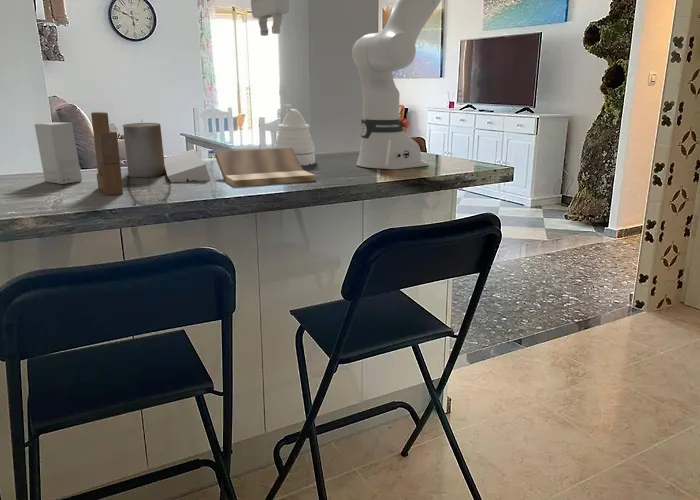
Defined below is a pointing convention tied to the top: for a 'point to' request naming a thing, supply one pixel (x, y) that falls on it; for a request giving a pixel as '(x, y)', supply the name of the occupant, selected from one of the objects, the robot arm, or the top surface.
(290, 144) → the honey pot
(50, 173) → the skincare box
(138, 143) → the pillar candle
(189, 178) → the decorative molding
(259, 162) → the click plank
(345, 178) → the top surface
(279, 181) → the laid oak board
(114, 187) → the wooden block
